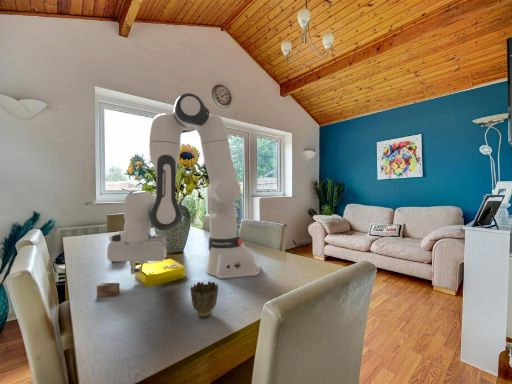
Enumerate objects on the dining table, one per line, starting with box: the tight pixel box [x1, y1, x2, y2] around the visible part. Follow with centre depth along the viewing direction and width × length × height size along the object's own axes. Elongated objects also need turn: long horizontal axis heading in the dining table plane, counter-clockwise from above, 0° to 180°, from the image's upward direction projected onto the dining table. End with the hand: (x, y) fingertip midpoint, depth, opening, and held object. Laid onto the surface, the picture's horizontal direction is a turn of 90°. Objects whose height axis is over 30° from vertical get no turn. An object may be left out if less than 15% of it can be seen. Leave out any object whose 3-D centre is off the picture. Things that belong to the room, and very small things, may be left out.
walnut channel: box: [96, 261, 149, 298], centre depth 90 cm, size 6×25×4 cm, turn 2°
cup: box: [189, 281, 219, 319], centre depth 66 cm, size 8×7×8 cm
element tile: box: [134, 258, 186, 288], centre depth 95 cm, size 15×15×5 cm
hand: (137, 272), depth 90 cm, fingers closed
